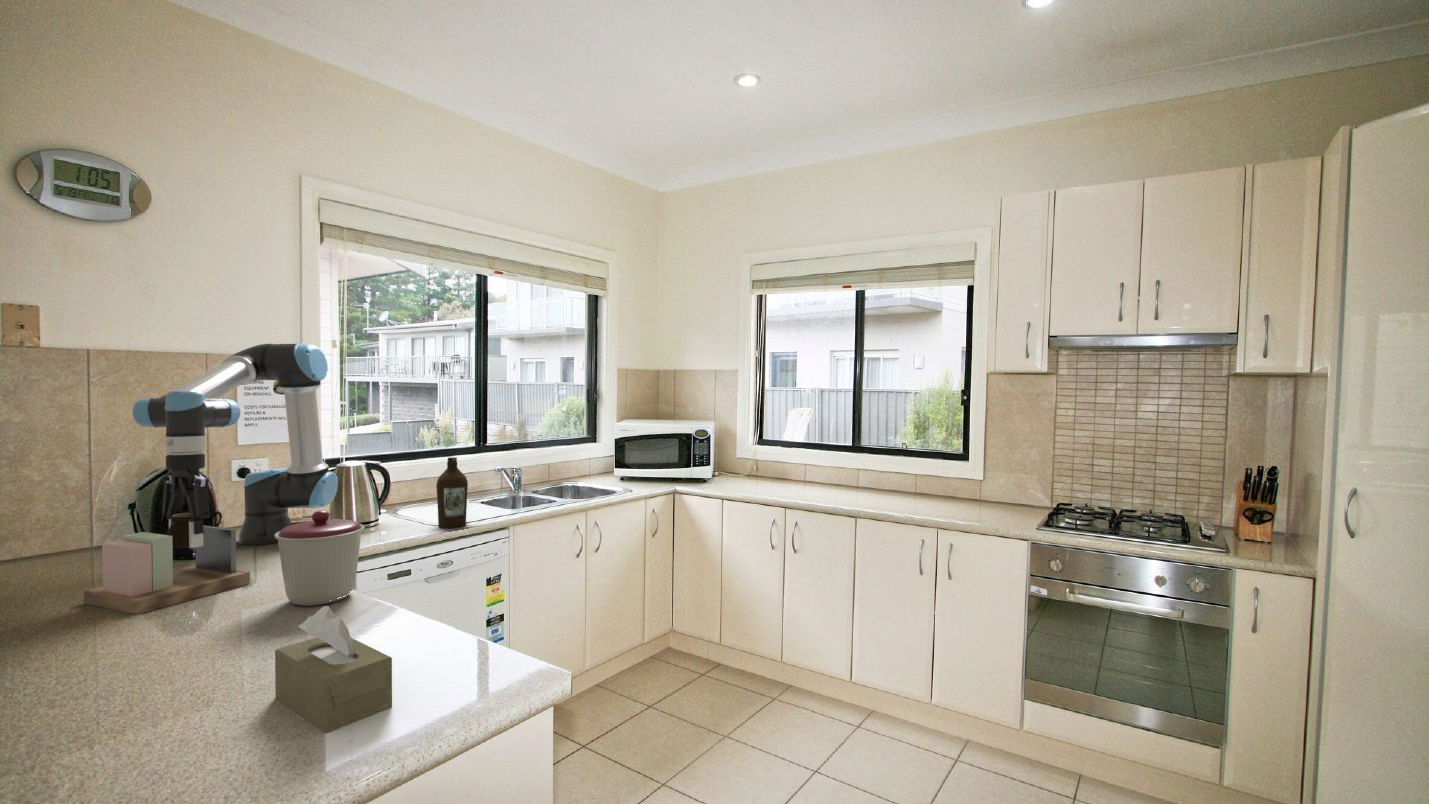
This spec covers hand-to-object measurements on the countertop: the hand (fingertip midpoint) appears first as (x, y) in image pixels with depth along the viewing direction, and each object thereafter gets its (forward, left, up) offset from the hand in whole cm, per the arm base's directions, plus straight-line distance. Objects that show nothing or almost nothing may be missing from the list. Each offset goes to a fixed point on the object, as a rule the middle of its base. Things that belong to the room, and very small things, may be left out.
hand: (186, 545), depth 158 cm
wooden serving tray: (+3, 0, -11) cm, 11 cm away
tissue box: (+28, +86, -11) cm, 91 cm away
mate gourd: (0, 0, 0) cm, 0 cm away
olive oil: (-83, +6, -11) cm, 84 cm away
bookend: (-7, 0, -8) cm, 10 cm away
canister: (-7, +38, -11) cm, 40 cm away
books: (+10, 0, -8) cm, 13 cm away
